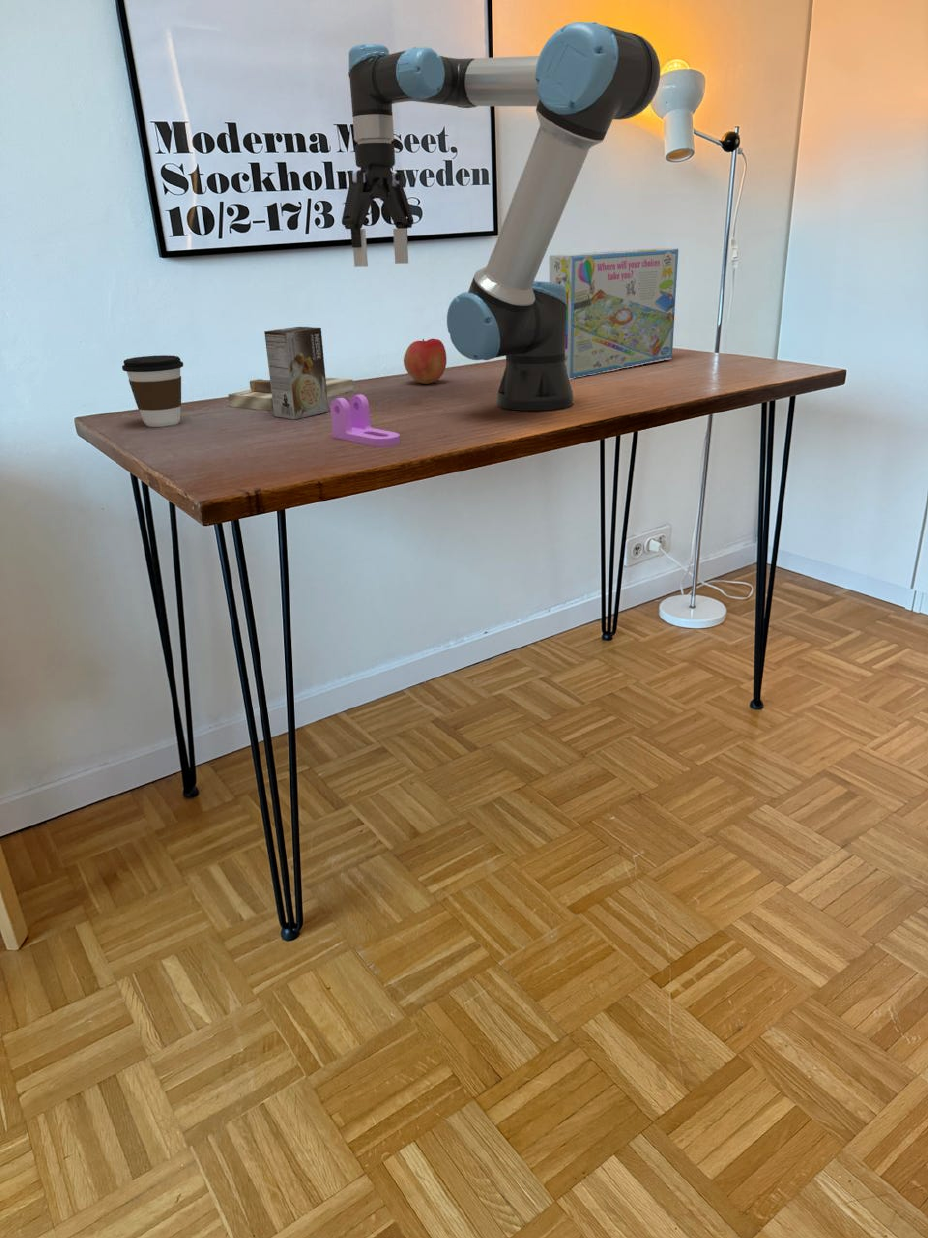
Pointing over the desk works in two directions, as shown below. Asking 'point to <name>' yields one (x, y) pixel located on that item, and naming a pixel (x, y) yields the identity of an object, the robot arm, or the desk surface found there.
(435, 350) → the apple
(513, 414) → the desk surface
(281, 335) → the coffee box
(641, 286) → the game box
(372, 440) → the bracket
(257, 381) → the chocolate brown block
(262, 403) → the plank
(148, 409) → the coffee cup
